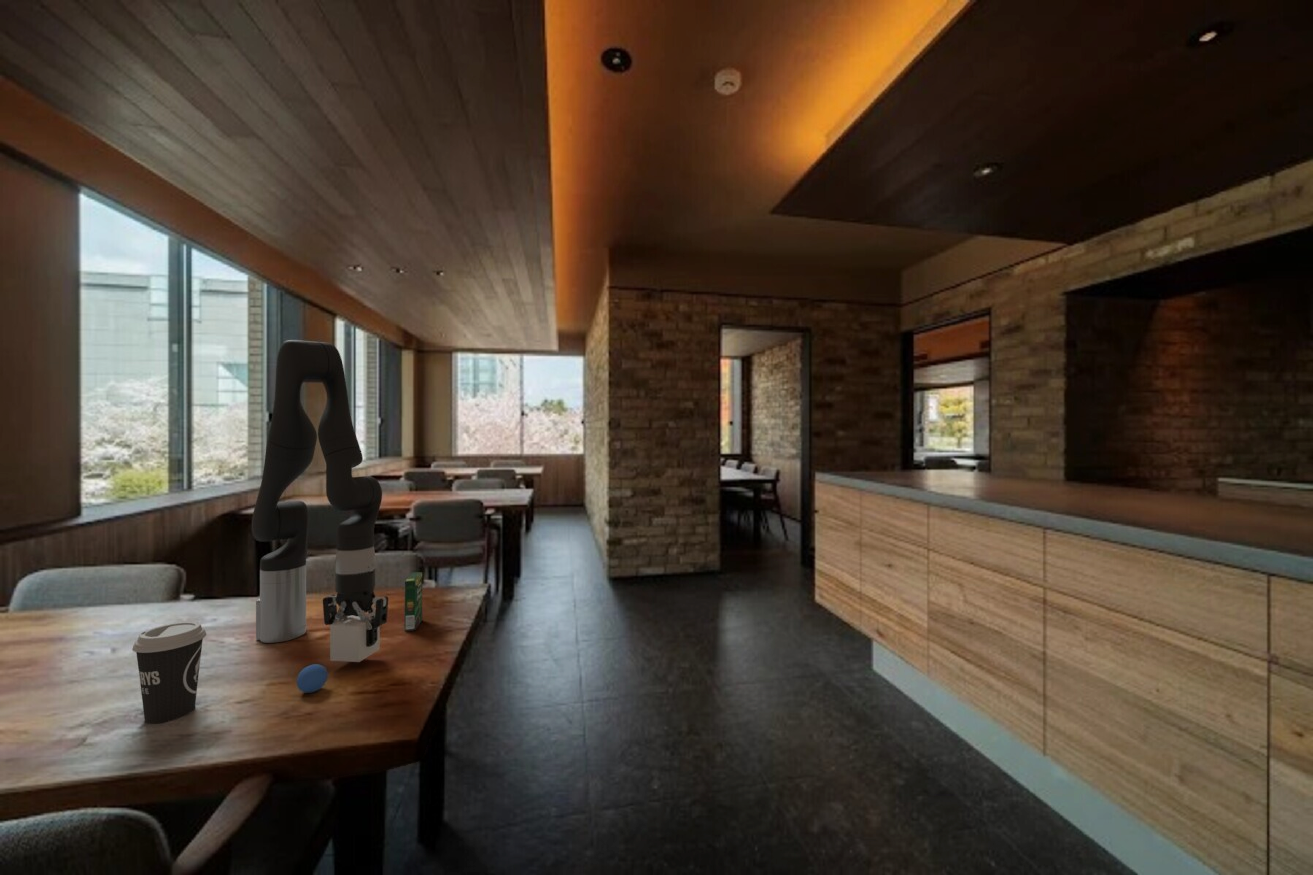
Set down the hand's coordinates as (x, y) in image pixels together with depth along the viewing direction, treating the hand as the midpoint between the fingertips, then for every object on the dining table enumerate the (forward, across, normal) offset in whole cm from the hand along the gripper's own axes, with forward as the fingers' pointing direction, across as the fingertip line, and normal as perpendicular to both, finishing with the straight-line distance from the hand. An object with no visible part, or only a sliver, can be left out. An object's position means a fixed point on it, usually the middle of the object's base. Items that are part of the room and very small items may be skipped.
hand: (355, 644), depth 110 cm
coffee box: (+4, 0, +22) cm, 22 cm away
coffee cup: (+4, -19, -22) cm, 29 cm away
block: (+2, 0, 0) cm, 2 cm away
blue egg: (+2, 0, -12) cm, 12 cm away
